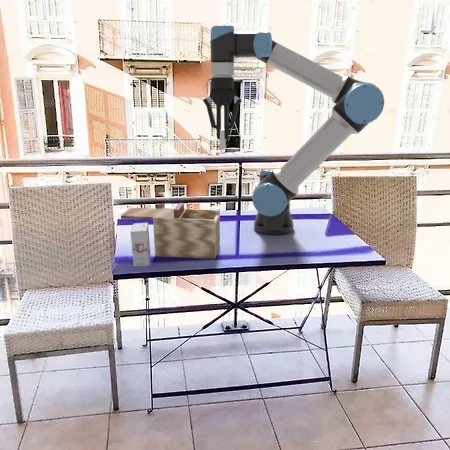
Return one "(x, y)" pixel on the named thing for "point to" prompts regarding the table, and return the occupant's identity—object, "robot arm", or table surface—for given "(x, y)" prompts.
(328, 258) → the table surface
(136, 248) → the ink box
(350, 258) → the table surface
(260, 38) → the robot arm
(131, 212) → the lid
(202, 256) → the box
